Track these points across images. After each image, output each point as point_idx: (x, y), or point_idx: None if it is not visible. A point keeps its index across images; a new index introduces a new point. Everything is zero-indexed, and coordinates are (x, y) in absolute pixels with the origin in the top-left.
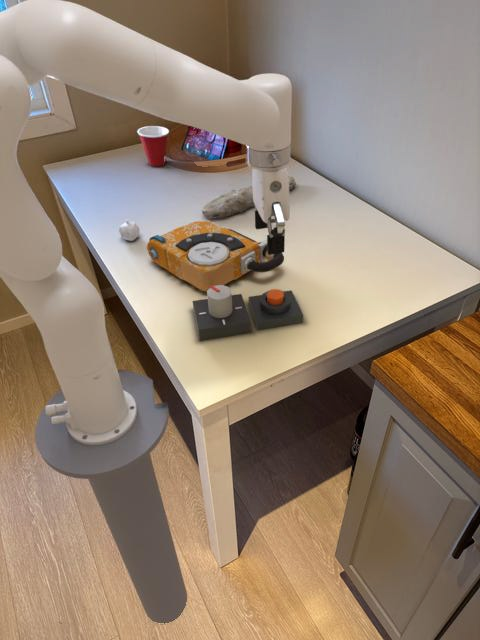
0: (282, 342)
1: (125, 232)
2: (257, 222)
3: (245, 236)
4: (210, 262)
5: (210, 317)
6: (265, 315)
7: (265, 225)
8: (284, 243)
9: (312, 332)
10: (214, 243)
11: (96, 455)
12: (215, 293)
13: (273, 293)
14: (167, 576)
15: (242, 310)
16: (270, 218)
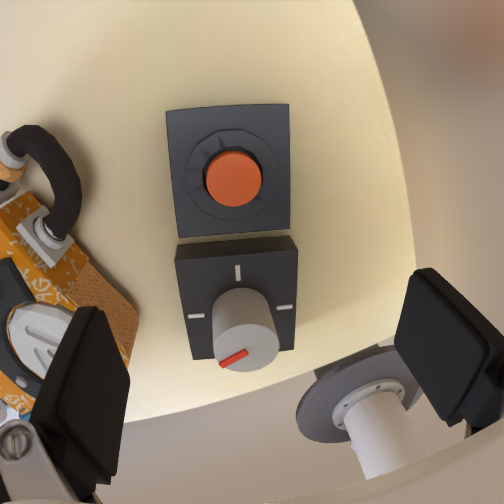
0: (339, 172)
1: (1, 419)
2: (121, 411)
3: None
4: None
5: None
6: (269, 205)
7: (109, 350)
8: (464, 297)
9: (323, 93)
10: (15, 335)
11: (409, 395)
12: (250, 357)
13: (230, 185)
14: None
15: (249, 264)
16: (83, 358)
